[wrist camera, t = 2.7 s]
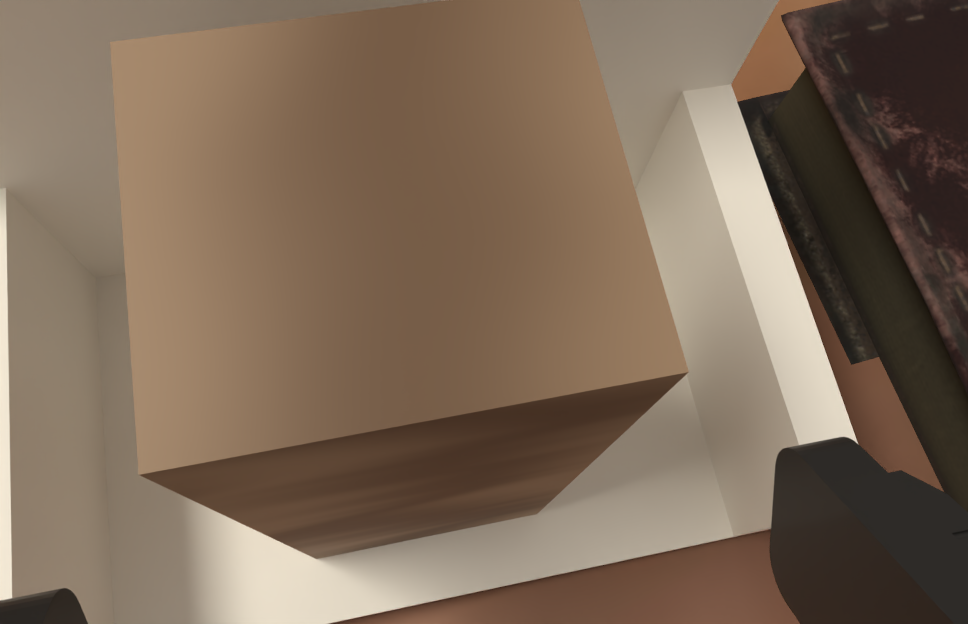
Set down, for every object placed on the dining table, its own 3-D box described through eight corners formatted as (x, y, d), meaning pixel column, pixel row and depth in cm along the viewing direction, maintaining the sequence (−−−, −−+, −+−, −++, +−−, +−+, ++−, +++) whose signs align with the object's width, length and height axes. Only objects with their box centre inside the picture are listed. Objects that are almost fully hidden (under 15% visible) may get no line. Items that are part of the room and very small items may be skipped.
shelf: (79, 676, 20) (-385, 761, 9) (63, 259, 23) (-280, -71, 12) (763, 530, 22) (1114, 442, 11) (653, 168, 25) (829, -184, 14)
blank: (316, 559, 20) (138, 475, 8) (290, 363, 22) (109, 42, 9) (537, 514, 21) (689, 372, 9) (496, 327, 22) (574, -16, 10)
